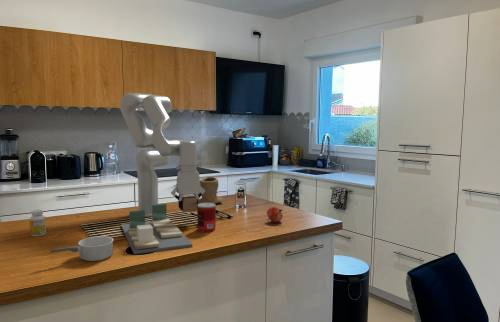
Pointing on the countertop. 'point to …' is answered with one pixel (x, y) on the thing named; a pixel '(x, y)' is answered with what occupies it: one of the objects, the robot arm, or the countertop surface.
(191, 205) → the cube
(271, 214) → the pomegranate
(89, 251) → the saucepan
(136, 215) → the broken strip
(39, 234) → the supplement bottle
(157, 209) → the strip
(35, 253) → the countertop surface
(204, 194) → the stone cup
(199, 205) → the canned food
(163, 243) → the mat
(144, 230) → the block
